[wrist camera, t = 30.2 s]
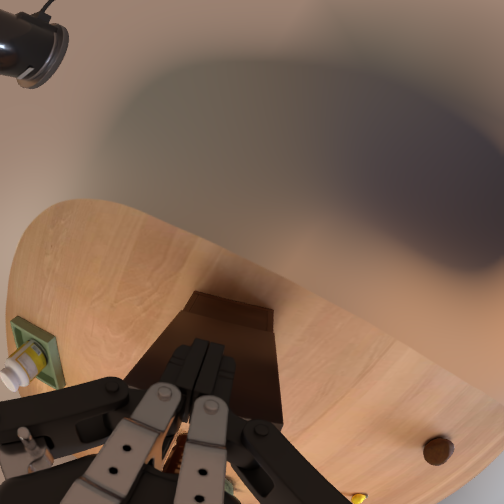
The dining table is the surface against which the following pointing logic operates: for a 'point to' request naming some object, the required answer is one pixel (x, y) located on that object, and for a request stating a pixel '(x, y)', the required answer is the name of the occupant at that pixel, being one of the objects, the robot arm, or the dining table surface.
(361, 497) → the yellow rounded lump
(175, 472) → the coffee cup
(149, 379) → the lid
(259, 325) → the brown wooden box
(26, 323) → the tray
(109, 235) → the dining table surface
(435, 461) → the potato
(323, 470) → the dining table surface
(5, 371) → the pill bottle
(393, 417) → the dining table surface
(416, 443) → the dining table surface
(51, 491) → the robot arm
